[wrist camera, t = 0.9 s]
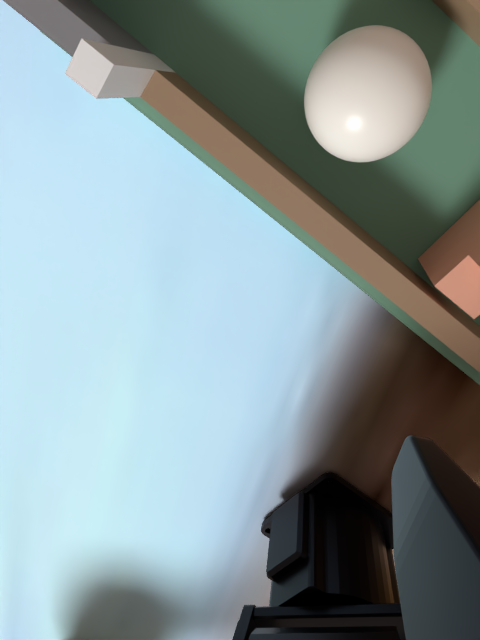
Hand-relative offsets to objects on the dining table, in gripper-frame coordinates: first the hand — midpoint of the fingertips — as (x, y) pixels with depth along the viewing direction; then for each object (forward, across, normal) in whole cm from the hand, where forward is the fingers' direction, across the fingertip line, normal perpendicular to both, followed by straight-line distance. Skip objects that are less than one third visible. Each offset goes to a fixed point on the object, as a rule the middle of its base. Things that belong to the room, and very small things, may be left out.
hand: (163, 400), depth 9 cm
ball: (+10, -3, -6) cm, 12 cm away
